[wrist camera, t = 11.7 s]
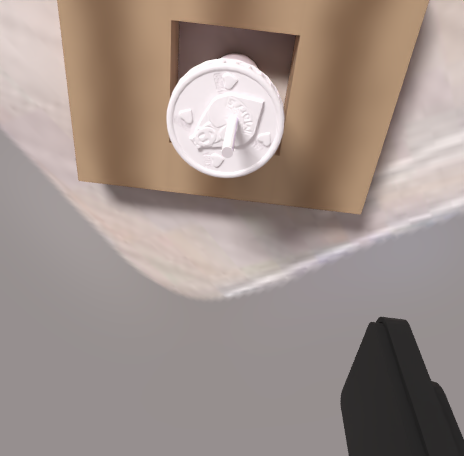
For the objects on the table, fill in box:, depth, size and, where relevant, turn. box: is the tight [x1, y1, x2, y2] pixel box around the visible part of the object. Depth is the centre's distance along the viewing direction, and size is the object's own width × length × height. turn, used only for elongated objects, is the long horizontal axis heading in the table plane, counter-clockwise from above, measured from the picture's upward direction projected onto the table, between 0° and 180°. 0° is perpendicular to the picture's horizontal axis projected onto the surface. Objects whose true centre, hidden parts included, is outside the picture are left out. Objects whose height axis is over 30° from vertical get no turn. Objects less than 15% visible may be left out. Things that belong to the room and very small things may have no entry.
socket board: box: [57, 0, 429, 214], centre depth 29 cm, size 22×16×3 cm
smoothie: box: [167, 53, 285, 178], centre depth 24 cm, size 6×6×14 cm
